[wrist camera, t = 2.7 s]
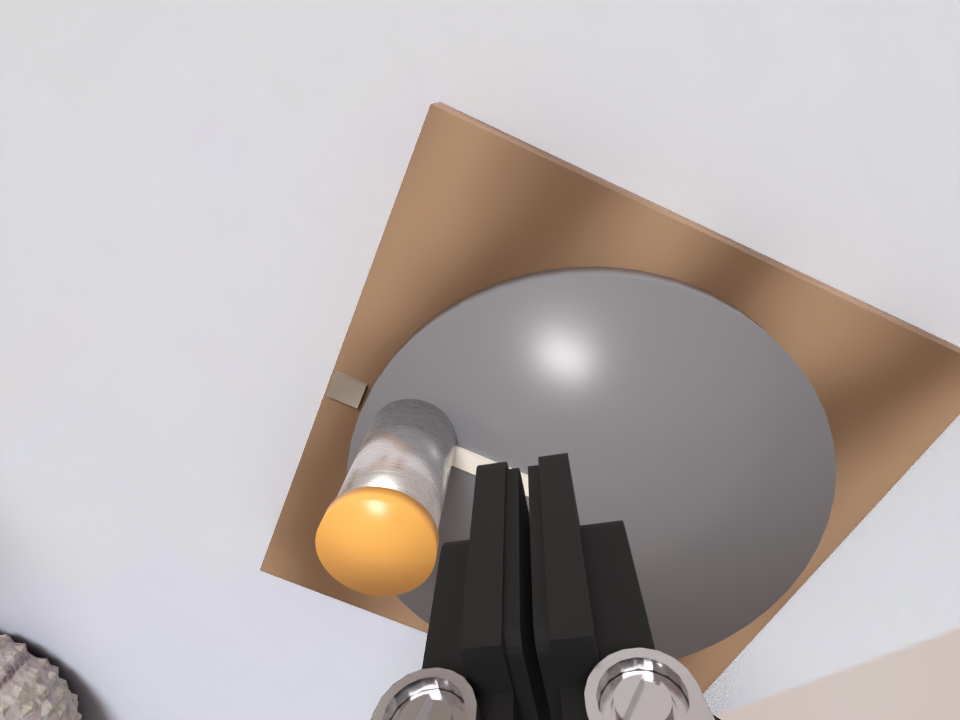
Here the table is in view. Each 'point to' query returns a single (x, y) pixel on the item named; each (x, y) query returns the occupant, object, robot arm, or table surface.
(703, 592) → the dial
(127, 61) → the table surface
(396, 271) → the dial board
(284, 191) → the table surface
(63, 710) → the sea urchin shell
